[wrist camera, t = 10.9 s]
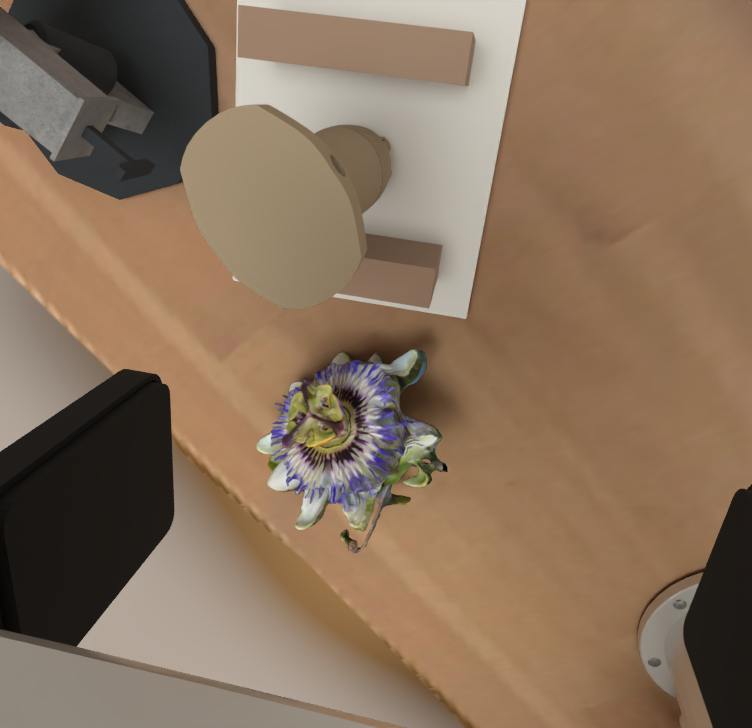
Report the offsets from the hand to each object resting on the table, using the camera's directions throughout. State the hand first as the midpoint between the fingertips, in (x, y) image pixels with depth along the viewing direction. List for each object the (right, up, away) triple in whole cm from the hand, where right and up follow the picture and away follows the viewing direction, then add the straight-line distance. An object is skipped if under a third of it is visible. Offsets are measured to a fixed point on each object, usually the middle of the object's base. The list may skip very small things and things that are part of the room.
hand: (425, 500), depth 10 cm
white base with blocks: (-1, +14, +23) cm, 27 cm away
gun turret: (-18, +20, +24) cm, 36 cm away
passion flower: (-1, -1, +30) cm, 30 cm away
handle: (-1, +13, +23) cm, 26 cm away
